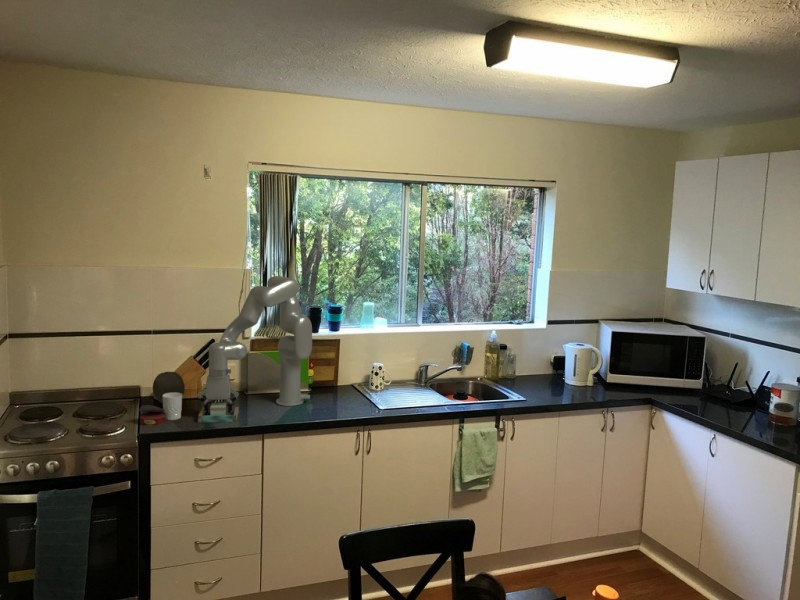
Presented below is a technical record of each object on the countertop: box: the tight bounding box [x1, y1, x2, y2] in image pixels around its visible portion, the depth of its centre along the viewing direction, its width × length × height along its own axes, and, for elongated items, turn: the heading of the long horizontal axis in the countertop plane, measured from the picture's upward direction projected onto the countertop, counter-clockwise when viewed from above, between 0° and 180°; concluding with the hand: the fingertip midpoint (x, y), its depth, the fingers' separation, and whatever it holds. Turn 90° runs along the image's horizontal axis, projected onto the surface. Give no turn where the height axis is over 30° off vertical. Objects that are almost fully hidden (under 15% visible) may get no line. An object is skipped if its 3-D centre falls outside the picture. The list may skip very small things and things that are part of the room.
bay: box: [197, 406, 239, 423], centre depth 275 cm, size 15×13×2 cm
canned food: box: [138, 404, 166, 427], centre depth 266 cm, size 11×10×10 cm
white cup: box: [162, 392, 183, 421], centre depth 272 cm, size 8×8×10 cm
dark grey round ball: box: [152, 371, 186, 405], centre depth 290 cm, size 14×14×15 cm
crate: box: [209, 402, 228, 416], centre depth 273 cm, size 6×6×6 cm
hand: (218, 412), depth 273 cm, fingers open, 8 cm apart
